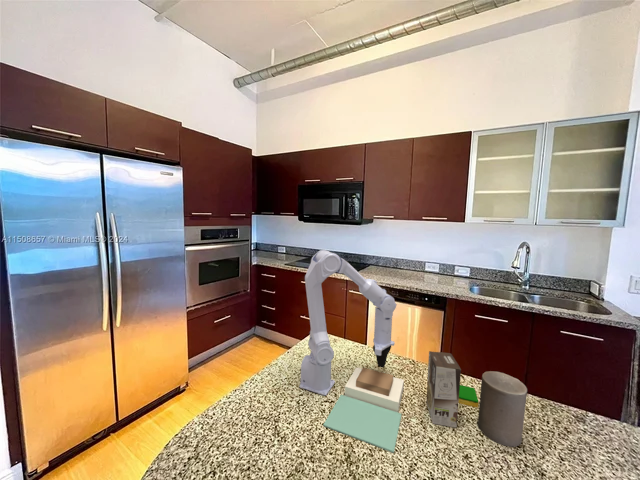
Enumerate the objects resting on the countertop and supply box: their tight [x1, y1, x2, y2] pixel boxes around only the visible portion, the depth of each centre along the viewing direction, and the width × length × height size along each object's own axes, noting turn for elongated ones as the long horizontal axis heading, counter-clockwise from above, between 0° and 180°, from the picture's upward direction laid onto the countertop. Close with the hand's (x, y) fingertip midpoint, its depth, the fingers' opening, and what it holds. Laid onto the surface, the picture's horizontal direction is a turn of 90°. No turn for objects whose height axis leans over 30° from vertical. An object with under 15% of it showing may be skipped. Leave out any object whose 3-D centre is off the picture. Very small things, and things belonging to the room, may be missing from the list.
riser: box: [344, 367, 405, 413], centre depth 83 cm, size 16×12×3 cm
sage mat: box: [322, 394, 403, 454], centre depth 71 cm, size 18×14×1 cm
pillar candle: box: [477, 370, 528, 448], centre depth 68 cm, size 10×10×15 cm
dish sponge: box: [458, 384, 480, 409], centre depth 83 cm, size 7×14×2 cm, turn 68°
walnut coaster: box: [356, 367, 394, 396], centre depth 83 cm, size 10×8×2 cm
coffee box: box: [426, 351, 462, 428], centre depth 74 cm, size 9×6×16 cm
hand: (381, 366), depth 91 cm, fingers closed
